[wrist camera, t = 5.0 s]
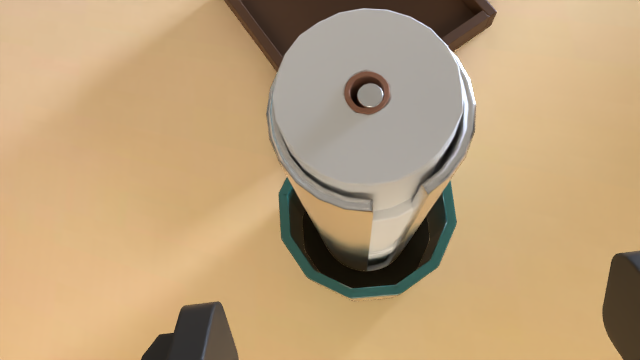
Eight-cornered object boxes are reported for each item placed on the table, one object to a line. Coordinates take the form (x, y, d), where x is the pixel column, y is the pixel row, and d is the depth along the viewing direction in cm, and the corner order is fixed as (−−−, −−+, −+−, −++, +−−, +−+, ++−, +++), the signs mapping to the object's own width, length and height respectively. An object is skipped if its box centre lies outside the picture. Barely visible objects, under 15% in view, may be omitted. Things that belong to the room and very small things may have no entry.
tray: (372, -106, 46) (372, -124, 44) (491, 25, 42) (497, 11, 40) (218, -7, 45) (212, -22, 43) (326, 138, 41) (324, 129, 39)
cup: (380, 135, 41) (384, 94, 33) (465, 245, 38) (491, 228, 30) (269, 212, 40) (247, 188, 32) (348, 329, 37) (344, 334, 30)
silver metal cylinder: (313, 259, 39) (232, 175, 15) (334, 178, 40) (292, -21, 16) (398, 281, 38) (461, 229, 14) (416, 197, 39) (503, 16, 15)
